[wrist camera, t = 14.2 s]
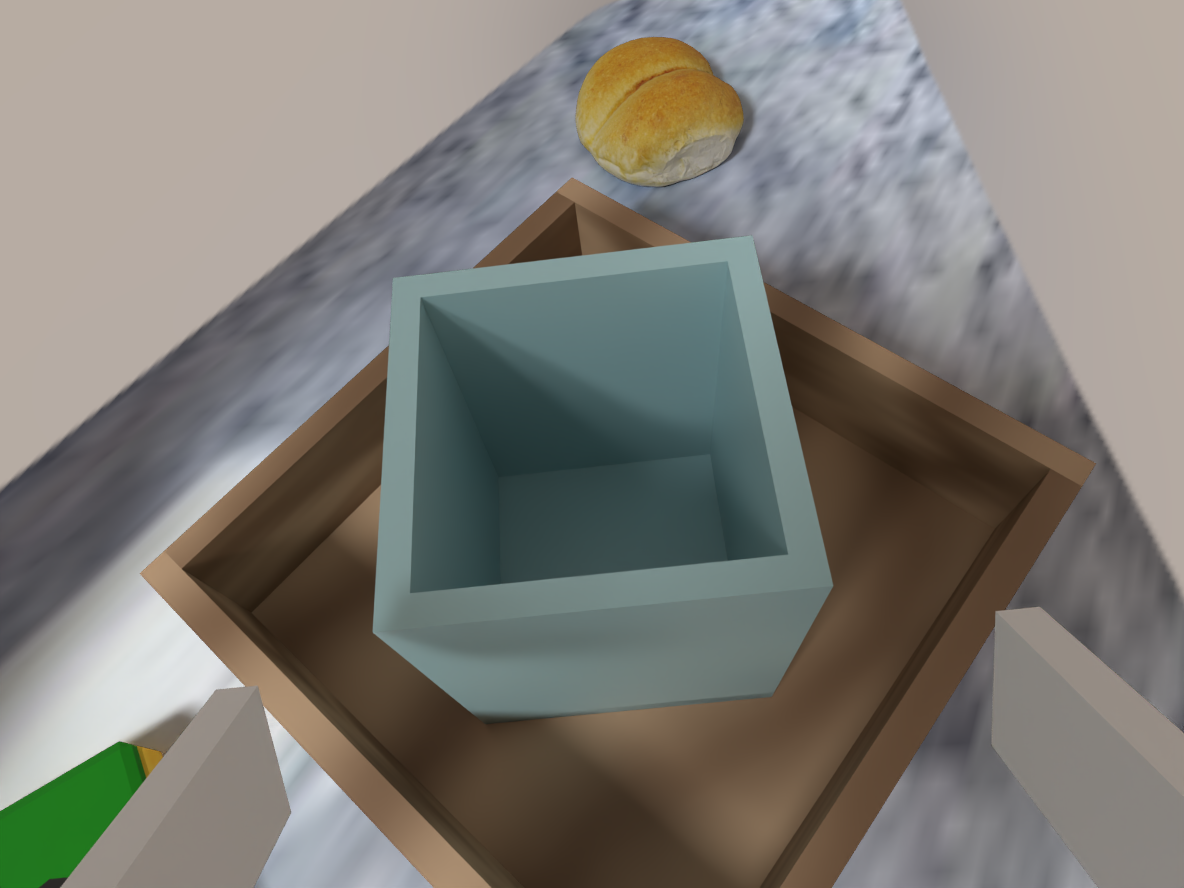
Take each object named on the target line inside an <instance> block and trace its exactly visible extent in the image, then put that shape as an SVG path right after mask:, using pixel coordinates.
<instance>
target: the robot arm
mask: <svg viewBox="0 0 1184 888" xmlns="http://www.w3.org/2000/svg"><path fill="white" fill-rule="evenodd" d="M991 746H992V747H993V748H994V750H995V751H996V752H997V754H998V755H999V756H1000V758H1001V759H1002V760H1003V762H1004V763H1005V764H1006V766H1007V767H1008V768H1009V770H1010V771H1011V772H1012V774H1013V775H1014V776H1015V778H1016V779H1017V780H1018V782H1019V783H1020V784H1021V786H1022V787H1023V788H1024V790H1025V791H1026V792H1027V794H1028V795H1029V796H1030V798H1031V799H1032V800H1033V802H1034V803H1035V804H1036V806H1037V807H1038V808H1039V810H1040V811H1041V812H1042V814H1043V815H1044V816H1045V818H1046V819H1047V820H1048V821H1049V823H1050V824H1051V825H1052V827H1053V828H1054V829H1055V831H1056V832H1057V833H1058V835H1059V836H1060V837H1061V839H1062V840H1063V841H1064V843H1065V844H1066V845H1067V847H1068V848H1069V849H1070V851H1071V852H1072V853H1073V855H1074V856H1075V857H1076V859H1077V860H1078V861H1079V863H1080V864H1081V865H1082V867H1083V868H1084V869H1085V871H1086V872H1087V873H1088V875H1089V876H1090V877H1091V879H1092V880H1093V881H1094V883H1095V884H1096V885H1097V887H1098V888H1184V733H1183V732H1182V731H1181V730H1180V729H1179V728H1177V727H1176V726H1175V725H1174V724H1173V723H1172V722H1171V721H1169V720H1168V719H1167V718H1166V717H1165V716H1164V715H1163V714H1161V713H1160V712H1159V711H1158V710H1157V709H1156V708H1155V707H1153V706H1152V705H1151V704H1150V703H1149V702H1148V701H1147V700H1146V699H1144V698H1143V697H1142V696H1141V695H1140V694H1139V693H1138V692H1136V691H1135V690H1134V689H1133V688H1132V687H1131V686H1130V685H1128V684H1127V683H1126V682H1125V681H1124V680H1123V679H1122V678H1120V677H1119V676H1118V675H1117V674H1116V673H1115V672H1114V671H1113V670H1111V669H1110V668H1109V667H1108V666H1107V665H1106V664H1105V663H1103V662H1102V661H1101V660H1100V659H1099V658H1098V657H1097V656H1095V655H1094V654H1093V653H1092V652H1091V651H1090V650H1089V649H1087V648H1086V647H1085V646H1084V645H1083V644H1082V643H1081V642H1079V641H1078V640H1077V639H1076V638H1075V637H1074V636H1073V635H1072V634H1070V633H1069V632H1068V631H1067V630H1066V629H1065V628H1064V627H1062V626H1061V625H1060V624H1059V623H1058V622H1057V621H1056V620H1054V619H1053V618H1052V617H1051V616H1050V615H1049V614H1048V613H1046V612H1045V611H1044V610H1043V609H1042V608H1041V607H1032V608H1022V609H1012V610H1002V611H995V643H994V676H993V709H992V742H991ZM290 814H291V810H290V806H289V802H288V798H287V795H286V791H285V787H284V783H283V779H282V776H281V772H280V768H279V764H278V760H277V757H276V753H275V749H274V745H273V741H272V737H271V734H270V730H269V726H268V722H267V718H266V715H265V711H264V707H263V703H262V699H261V696H260V692H259V688H258V686H249V687H239V688H229V689H219V690H216V691H215V692H214V693H213V694H212V696H211V697H210V698H209V699H208V701H207V702H206V703H205V705H204V706H203V707H202V708H201V710H200V711H199V712H198V713H197V715H196V716H195V717H194V719H193V720H192V721H191V722H190V724H189V725H188V726H187V727H186V729H185V730H184V731H183V732H182V734H181V735H180V736H179V738H178V739H177V740H176V741H175V743H174V744H173V745H172V746H171V748H170V749H169V750H168V752H167V753H166V754H165V755H164V757H163V758H162V759H161V760H160V762H159V763H158V764H157V765H156V767H155V768H154V769H153V771H152V772H151V773H150V774H149V776H148V777H147V778H146V779H145V781H144V782H143V783H142V785H141V786H140V787H139V788H138V790H137V791H136V792H135V793H134V795H133V796H132V797H131V798H130V800H129V801H128V802H127V804H126V805H125V806H124V807H123V809H122V810H121V811H120V812H119V814H118V815H117V816H116V818H115V819H114V820H113V821H112V823H111V824H110V825H109V826H108V828H107V829H106V830H105V831H104V833H103V834H102V835H101V837H100V838H99V839H98V840H97V842H96V843H95V844H94V845H93V847H92V848H91V849H90V851H89V852H88V853H87V854H86V856H85V857H84V858H83V859H82V861H81V862H80V863H79V864H78V866H77V867H76V868H75V870H74V871H73V872H72V873H71V875H70V876H69V877H66V878H55V879H49V880H48V881H47V882H45V883H44V884H43V885H42V886H40V887H39V888H254V886H255V884H256V882H257V880H258V878H259V876H260V874H261V872H262V870H263V868H264V866H265V864H266V862H267V860H268V858H269V856H270V854H271V852H272V850H273V848H274V846H275V844H276V842H277V840H278V838H279V836H280V834H281V832H282V830H283V828H284V826H285V824H286V822H287V820H288V818H289V816H290Z"/></svg>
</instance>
